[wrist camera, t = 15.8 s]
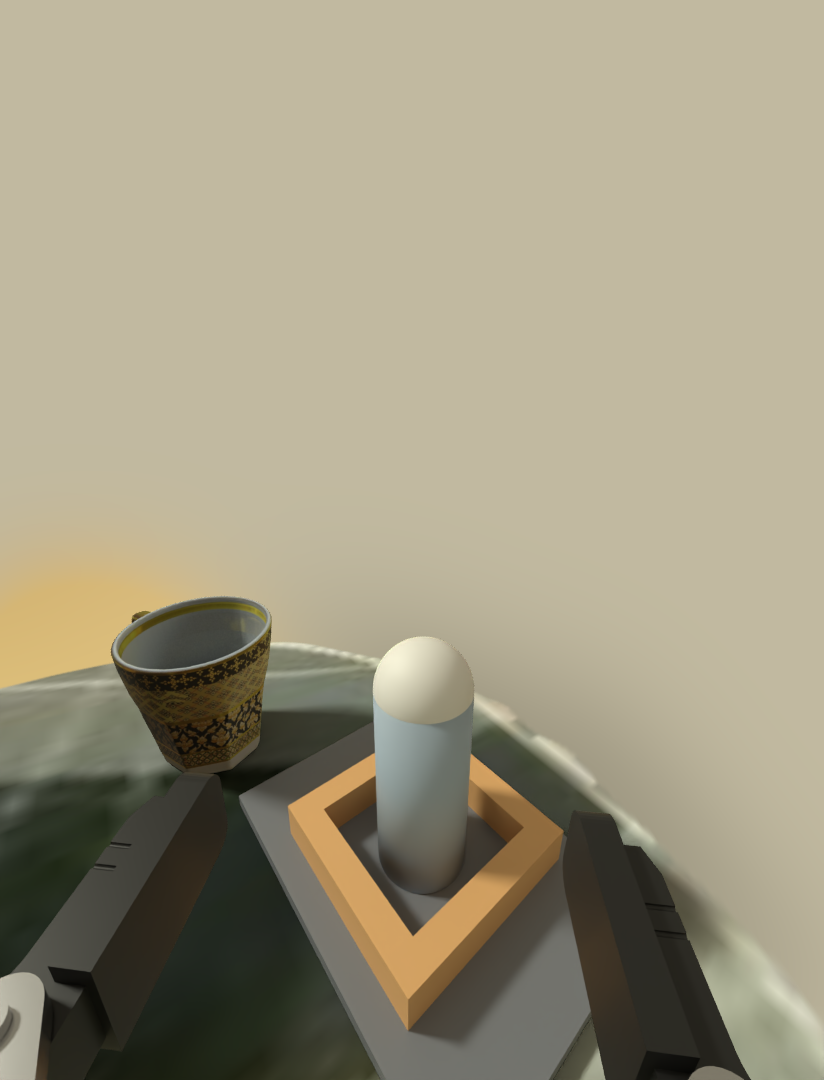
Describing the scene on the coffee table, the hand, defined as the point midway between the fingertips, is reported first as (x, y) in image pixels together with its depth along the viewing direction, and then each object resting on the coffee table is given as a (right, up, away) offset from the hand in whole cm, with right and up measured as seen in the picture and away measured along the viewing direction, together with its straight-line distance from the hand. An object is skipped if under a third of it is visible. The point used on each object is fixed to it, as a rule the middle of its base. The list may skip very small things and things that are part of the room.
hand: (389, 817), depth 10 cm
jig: (+1, -12, +16) cm, 20 cm away
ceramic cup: (-16, -9, +25) cm, 31 cm away
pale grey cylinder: (+1, -11, +15) cm, 19 cm away
